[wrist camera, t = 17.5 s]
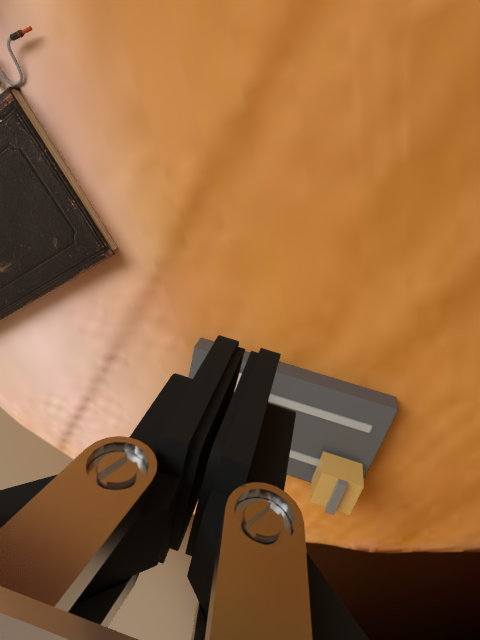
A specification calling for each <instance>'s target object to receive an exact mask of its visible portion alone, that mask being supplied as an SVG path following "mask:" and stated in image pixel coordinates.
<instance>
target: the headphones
mask: <svg viewBox="0 0 480 640" xmlns="http://www.w3.org/2000/svg"><path fill="white" fill-rule="evenodd" d="M31 30H32V27H31V26H30V27H28V28H26V29H24V30H18V31H17V32H15V33H13V34H11V35H10V37H9V38H8V40H7V47H8V50H9V52H10V54H11V56H12V58H13V60H14V62H15V64H16V66H17V69H18V71H19V74H20V80H19V81H18V82H16V83H12V82H10V81H9V80H8V79H7V78H6V76H5V75H4V73H3V71H2V70H1V68H0V73H1V75H2V76H3V78H4V79H5V81H6V82H8V83H9V84H10V85H13V86H17V85H19V84H21V83H22V81H23V75H22V72H21V69H20V66H19V64H18V62H17V60H16V58H15V56H14V54H13V53H12V51H11V48H10V41H11V40H13V41H14V40H16V39H18V38H20V37H23V36H24V34H25V33H27V32H29V31H31ZM0 86H1V81H0Z"/></svg>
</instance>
